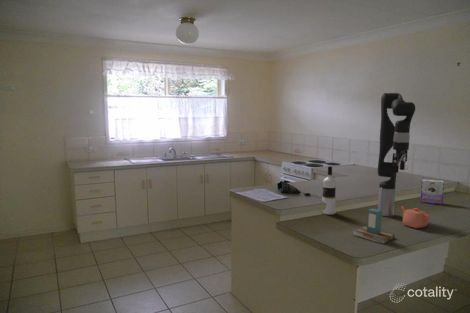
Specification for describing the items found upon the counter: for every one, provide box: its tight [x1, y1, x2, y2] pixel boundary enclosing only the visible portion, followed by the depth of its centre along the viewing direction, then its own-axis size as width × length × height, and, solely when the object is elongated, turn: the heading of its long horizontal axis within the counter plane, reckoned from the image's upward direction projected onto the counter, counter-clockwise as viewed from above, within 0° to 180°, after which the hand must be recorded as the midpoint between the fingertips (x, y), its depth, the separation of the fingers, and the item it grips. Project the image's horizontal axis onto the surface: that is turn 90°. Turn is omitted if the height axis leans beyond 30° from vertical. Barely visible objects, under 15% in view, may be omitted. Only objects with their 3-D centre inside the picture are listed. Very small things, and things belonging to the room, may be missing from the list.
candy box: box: [419, 178, 445, 206], centre depth 245 cm, size 14×6×16 cm, turn 58°
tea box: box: [366, 208, 383, 235], centre depth 176 cm, size 5×5×12 cm
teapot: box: [400, 205, 431, 229], centre depth 195 cm, size 12×18×10 cm, turn 29°
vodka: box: [321, 166, 337, 216], centre depth 217 cm, size 9×9×30 cm
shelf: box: [352, 225, 396, 244], centre depth 177 cm, size 13×16×3 cm
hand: (398, 171), depth 182 cm, fingers open, 8 cm apart
